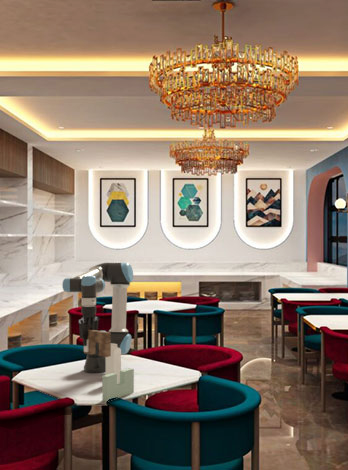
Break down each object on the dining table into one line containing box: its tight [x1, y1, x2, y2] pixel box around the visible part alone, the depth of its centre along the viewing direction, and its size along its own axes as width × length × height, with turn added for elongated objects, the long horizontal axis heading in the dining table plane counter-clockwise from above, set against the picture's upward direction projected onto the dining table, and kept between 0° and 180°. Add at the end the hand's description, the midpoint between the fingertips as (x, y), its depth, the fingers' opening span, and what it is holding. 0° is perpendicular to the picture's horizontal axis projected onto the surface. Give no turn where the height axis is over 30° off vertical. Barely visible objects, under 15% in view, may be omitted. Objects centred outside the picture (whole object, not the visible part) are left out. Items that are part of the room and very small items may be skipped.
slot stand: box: [101, 367, 135, 403], centre depth 271 cm, size 20×3×12 cm, turn 144°
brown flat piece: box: [83, 328, 111, 357], centre depth 277 cm, size 16×3×12 cm, turn 53°
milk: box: [105, 343, 122, 384], centre depth 294 cm, size 6×6×22 cm
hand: (88, 351), depth 280 cm, fingers closed on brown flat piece, 3 cm apart
